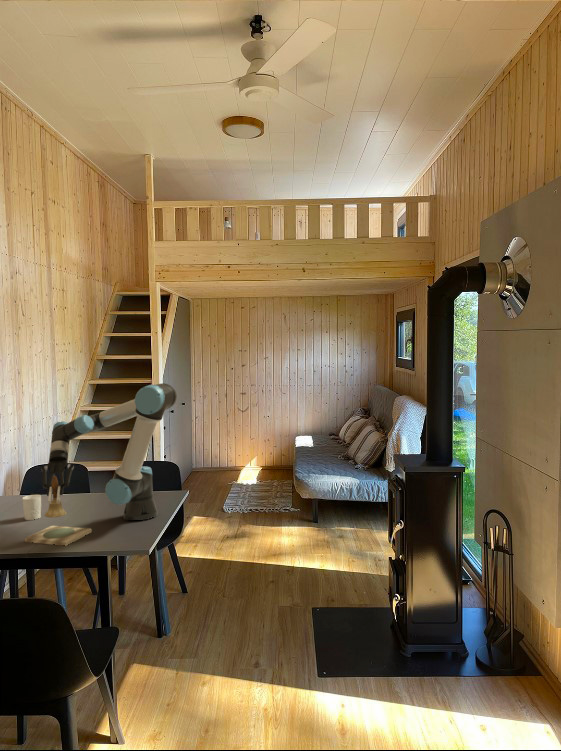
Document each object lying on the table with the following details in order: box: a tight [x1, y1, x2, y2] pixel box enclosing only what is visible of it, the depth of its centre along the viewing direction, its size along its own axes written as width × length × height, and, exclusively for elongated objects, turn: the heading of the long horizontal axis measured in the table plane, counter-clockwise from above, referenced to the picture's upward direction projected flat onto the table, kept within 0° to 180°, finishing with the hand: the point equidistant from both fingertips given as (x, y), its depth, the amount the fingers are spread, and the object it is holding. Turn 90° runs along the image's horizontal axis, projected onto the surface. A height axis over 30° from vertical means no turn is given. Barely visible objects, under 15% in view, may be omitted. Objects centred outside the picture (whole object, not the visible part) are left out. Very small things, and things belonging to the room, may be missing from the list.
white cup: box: [22, 494, 42, 521], centre depth 252 cm, size 8×8×10 cm
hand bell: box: [44, 475, 67, 518], centre depth 224 cm, size 8×8×16 cm
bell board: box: [24, 525, 93, 547], centre depth 225 cm, size 20×16×2 cm
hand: (53, 501), depth 220 cm, fingers closed on hand bell, 2 cm apart
